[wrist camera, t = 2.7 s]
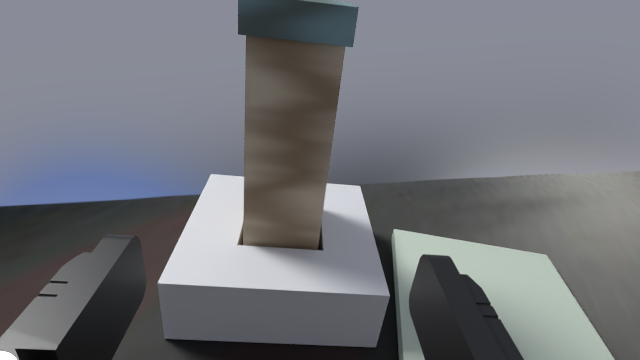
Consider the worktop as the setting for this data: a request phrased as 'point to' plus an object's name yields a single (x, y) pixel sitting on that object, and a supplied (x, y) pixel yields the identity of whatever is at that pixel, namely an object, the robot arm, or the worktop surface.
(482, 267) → the pad
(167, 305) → the white square stand
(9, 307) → the worktop surface
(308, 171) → the plug
